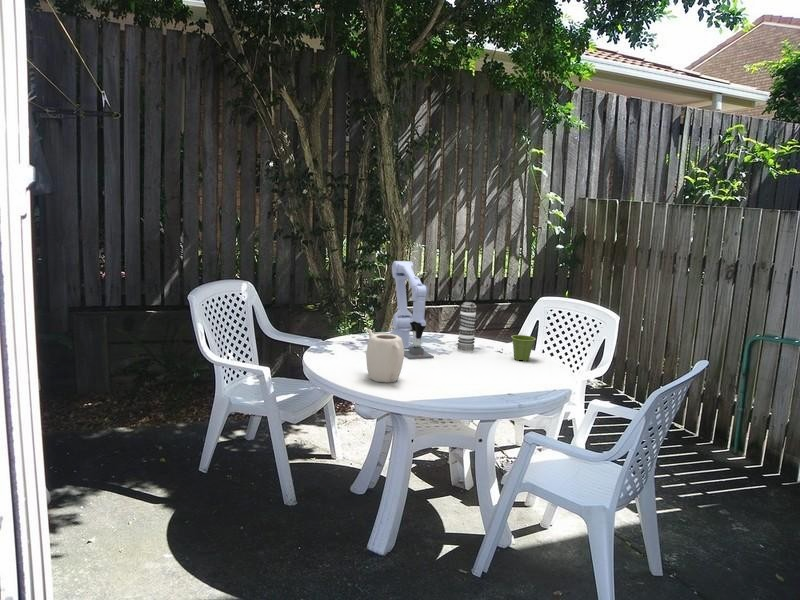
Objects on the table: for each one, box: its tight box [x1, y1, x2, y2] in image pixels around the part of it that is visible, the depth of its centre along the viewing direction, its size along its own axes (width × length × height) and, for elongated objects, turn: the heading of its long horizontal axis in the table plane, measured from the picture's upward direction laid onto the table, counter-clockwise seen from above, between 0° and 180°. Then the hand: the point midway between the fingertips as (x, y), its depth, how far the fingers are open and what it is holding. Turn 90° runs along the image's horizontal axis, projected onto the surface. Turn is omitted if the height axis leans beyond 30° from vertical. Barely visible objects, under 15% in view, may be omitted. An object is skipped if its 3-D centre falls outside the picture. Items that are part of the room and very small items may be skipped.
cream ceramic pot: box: [365, 329, 405, 384], centre depth 296 cm, size 16×27×19 cm, turn 33°
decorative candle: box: [456, 301, 478, 354], centre depth 357 cm, size 9×9×25 cm
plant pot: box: [511, 334, 536, 362], centre depth 346 cm, size 12×12×11 cm
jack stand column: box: [412, 331, 422, 347], centre depth 342 cm, size 3×3×7 cm
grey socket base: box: [404, 345, 435, 360], centre depth 343 cm, size 13×13×5 cm
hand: (417, 337), depth 342 cm, fingers closed on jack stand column, 3 cm apart
